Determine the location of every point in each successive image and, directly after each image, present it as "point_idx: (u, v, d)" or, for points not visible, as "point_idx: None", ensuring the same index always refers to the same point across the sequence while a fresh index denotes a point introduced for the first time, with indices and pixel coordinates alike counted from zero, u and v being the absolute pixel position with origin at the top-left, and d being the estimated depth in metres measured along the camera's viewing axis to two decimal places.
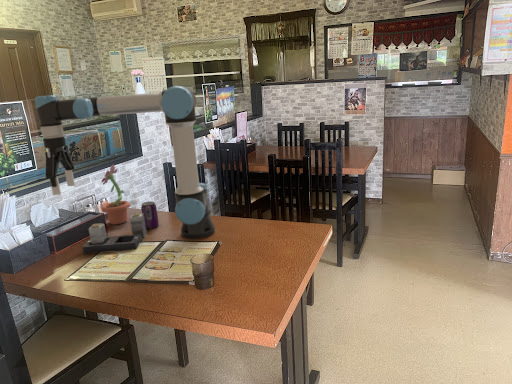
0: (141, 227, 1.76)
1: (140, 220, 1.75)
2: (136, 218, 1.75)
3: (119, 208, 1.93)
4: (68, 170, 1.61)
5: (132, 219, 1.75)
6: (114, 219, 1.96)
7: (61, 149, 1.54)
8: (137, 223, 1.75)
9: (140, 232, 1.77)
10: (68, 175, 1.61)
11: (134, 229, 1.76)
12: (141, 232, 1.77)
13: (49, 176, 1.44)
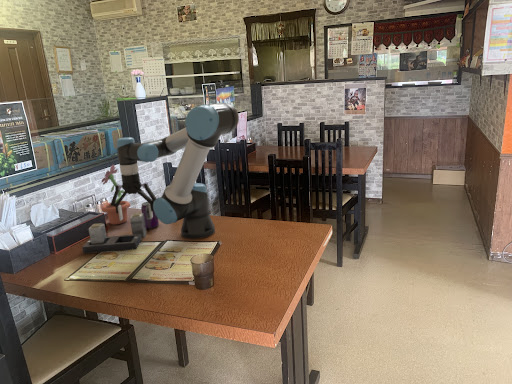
0: (141, 227, 1.76)
1: (140, 220, 1.75)
2: (136, 218, 1.75)
3: None
4: (149, 204, 1.76)
5: (132, 219, 1.75)
6: (114, 219, 1.96)
7: (135, 185, 1.72)
8: (137, 223, 1.75)
9: (140, 232, 1.77)
10: None
11: (134, 229, 1.76)
12: (141, 232, 1.77)
13: None
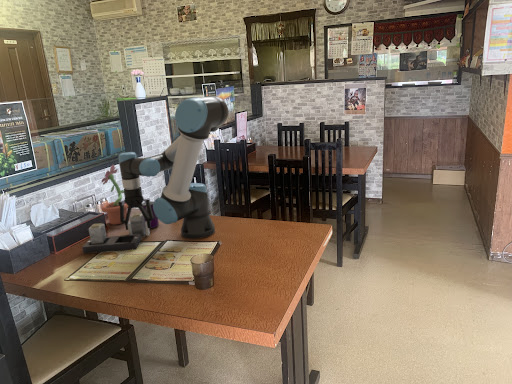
0: (141, 227, 1.76)
1: (140, 220, 1.75)
2: (136, 218, 1.75)
3: (119, 208, 1.93)
4: (146, 221, 1.78)
5: (132, 219, 1.75)
6: (114, 219, 1.96)
7: (138, 198, 1.74)
8: (137, 223, 1.75)
9: (140, 232, 1.77)
10: None
11: (134, 229, 1.76)
12: (141, 232, 1.77)
13: None
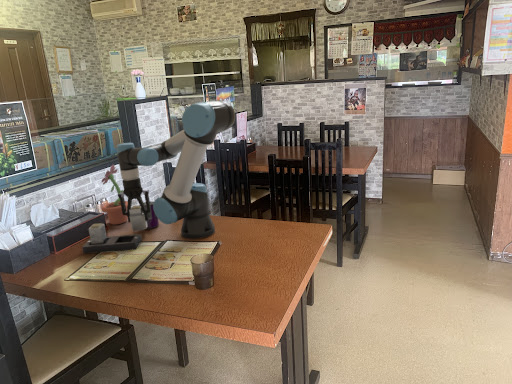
0: (141, 219, 1.75)
1: (140, 212, 1.74)
2: (135, 210, 1.74)
3: (119, 208, 1.93)
4: (143, 213, 1.77)
5: (131, 211, 1.74)
6: (114, 219, 1.96)
7: (137, 189, 1.73)
8: (137, 215, 1.74)
9: (140, 224, 1.75)
10: None
11: (134, 222, 1.75)
12: (141, 224, 1.75)
13: None
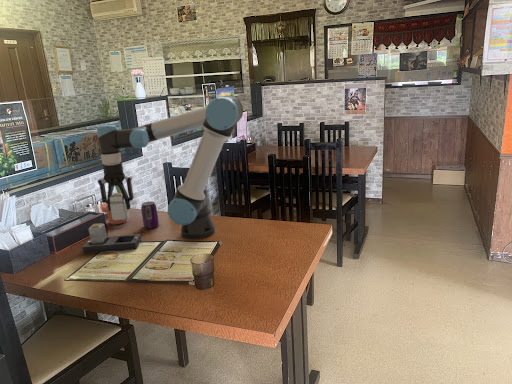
0: (122, 208, 1.62)
1: (121, 200, 1.61)
2: (116, 198, 1.61)
3: None
4: (125, 202, 1.64)
5: (112, 199, 1.61)
6: None
7: (119, 175, 1.60)
8: (117, 203, 1.62)
9: (121, 213, 1.63)
10: None
11: (115, 210, 1.63)
12: (122, 213, 1.63)
13: None
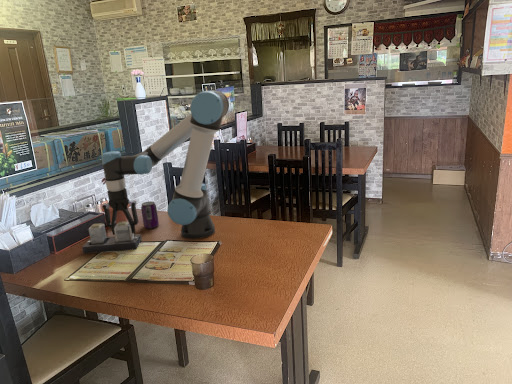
0: (127, 236, 1.66)
1: (126, 229, 1.65)
2: (122, 227, 1.65)
3: None
4: (130, 226, 1.67)
5: (118, 228, 1.65)
6: None
7: (123, 200, 1.63)
8: (123, 232, 1.65)
9: None
10: None
11: (120, 239, 1.66)
12: (127, 241, 1.66)
13: None
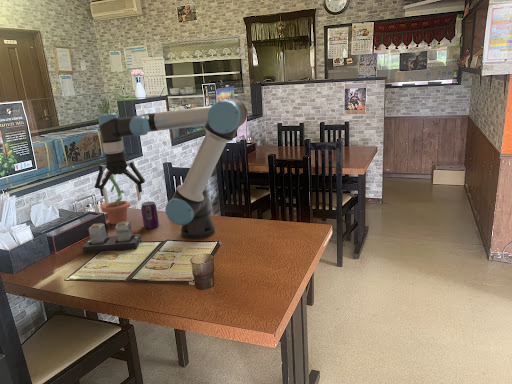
0: (127, 236, 1.66)
1: (126, 229, 1.65)
2: (122, 227, 1.65)
3: (119, 208, 1.93)
4: (137, 185, 1.64)
5: (118, 228, 1.65)
6: (114, 219, 1.96)
7: (120, 164, 1.60)
8: (123, 232, 1.65)
9: None
10: None
11: (120, 239, 1.66)
12: (127, 241, 1.66)
13: None
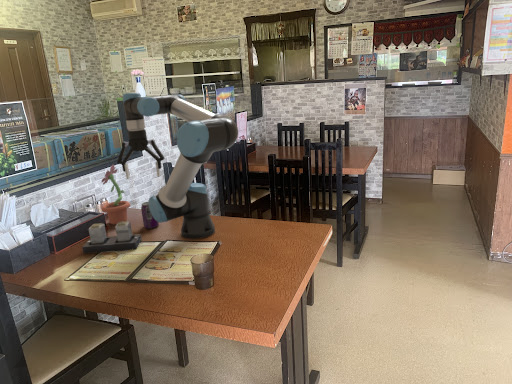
0: (127, 236, 1.66)
1: (126, 229, 1.65)
2: (122, 227, 1.65)
3: (119, 208, 1.93)
4: None
5: (118, 228, 1.65)
6: (114, 219, 1.96)
7: (142, 141, 1.70)
8: (123, 232, 1.65)
9: None
10: None
11: (120, 239, 1.66)
12: (127, 241, 1.66)
13: None
